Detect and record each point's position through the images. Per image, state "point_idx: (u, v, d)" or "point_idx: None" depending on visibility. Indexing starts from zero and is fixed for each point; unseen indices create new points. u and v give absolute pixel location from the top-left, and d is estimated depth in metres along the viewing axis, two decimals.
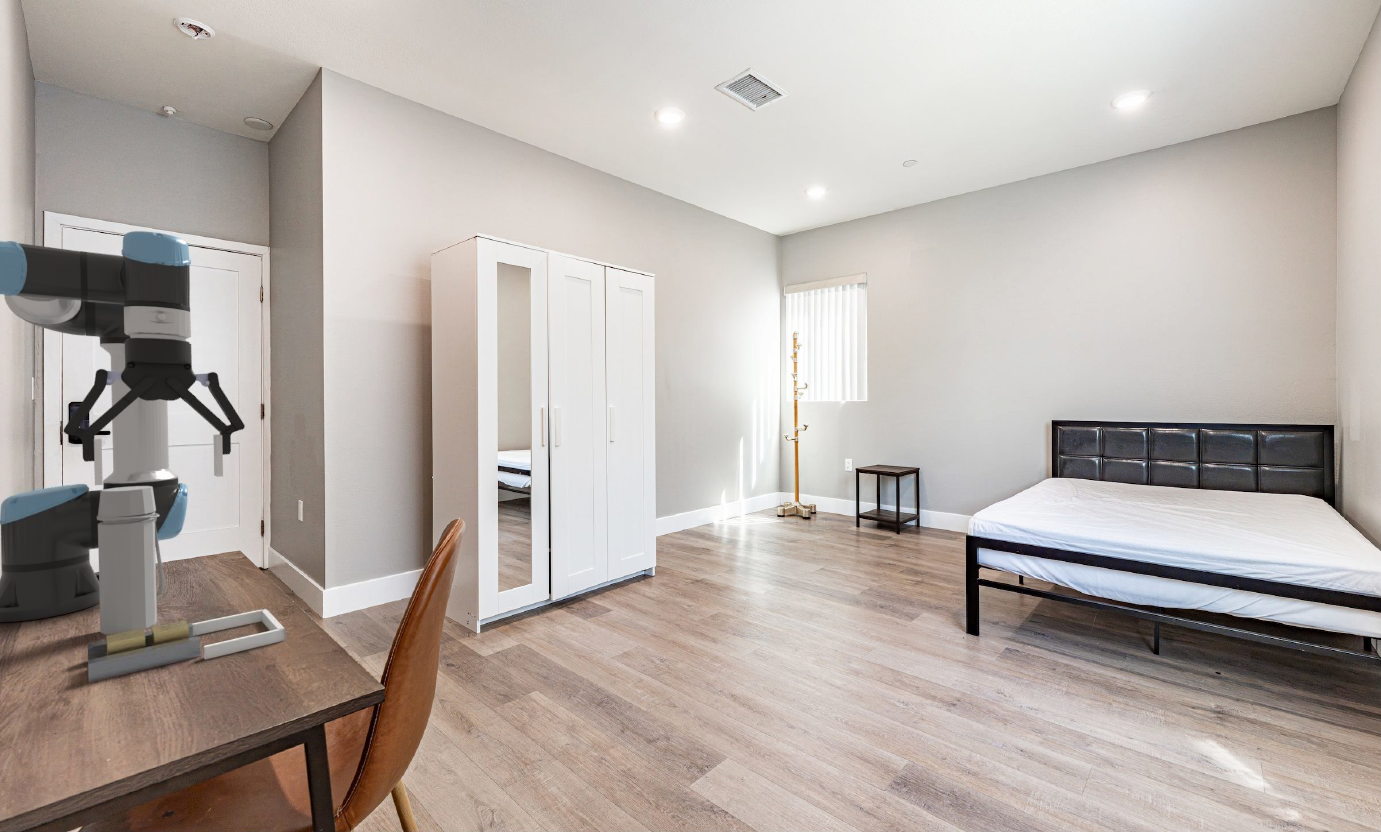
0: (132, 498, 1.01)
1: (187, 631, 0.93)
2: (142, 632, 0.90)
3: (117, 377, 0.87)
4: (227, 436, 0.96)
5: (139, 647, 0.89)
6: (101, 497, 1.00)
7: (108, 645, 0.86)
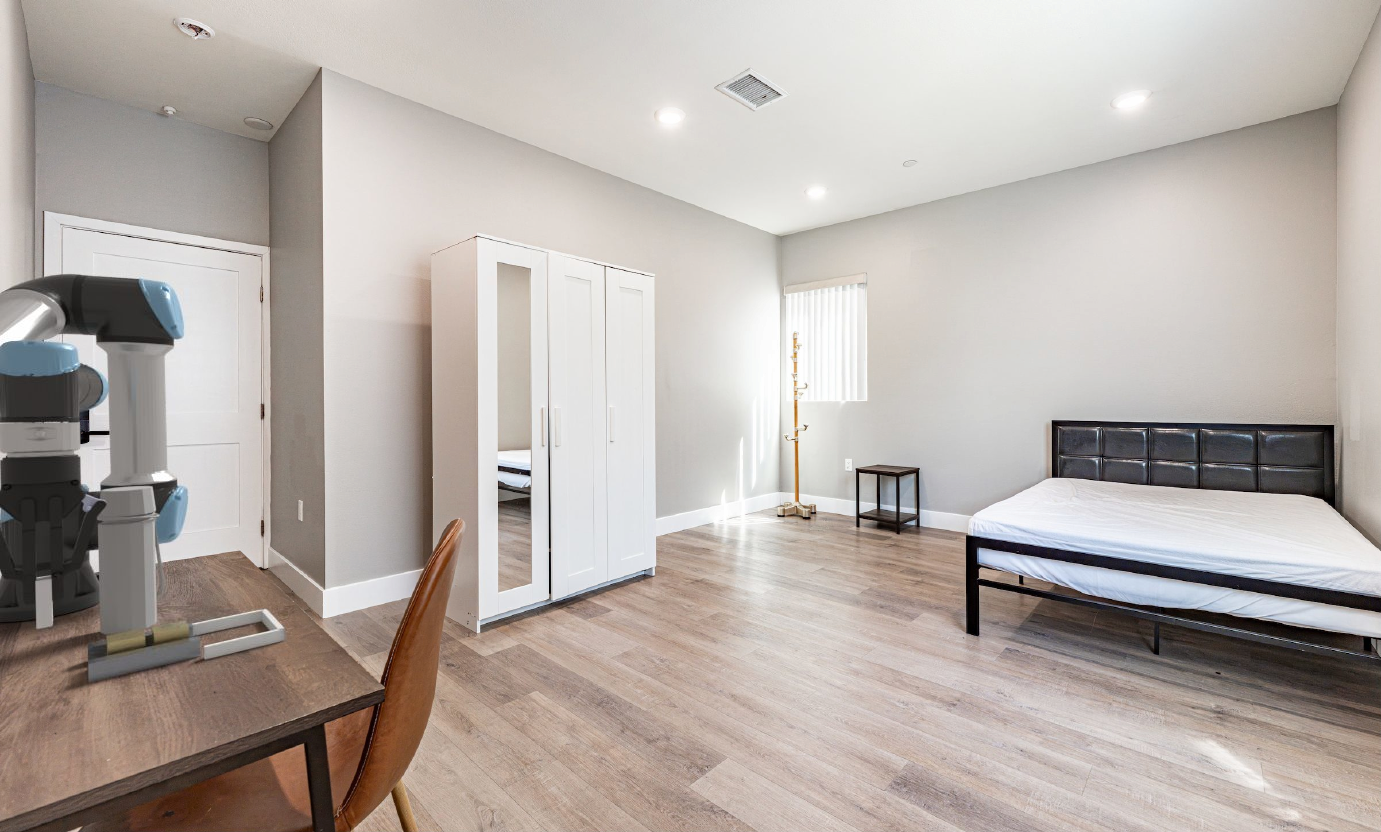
0: (132, 498, 1.01)
1: (187, 631, 0.93)
2: (142, 632, 0.90)
3: None
4: (59, 578, 0.83)
5: (139, 647, 0.89)
6: (101, 497, 1.00)
7: (108, 645, 0.86)
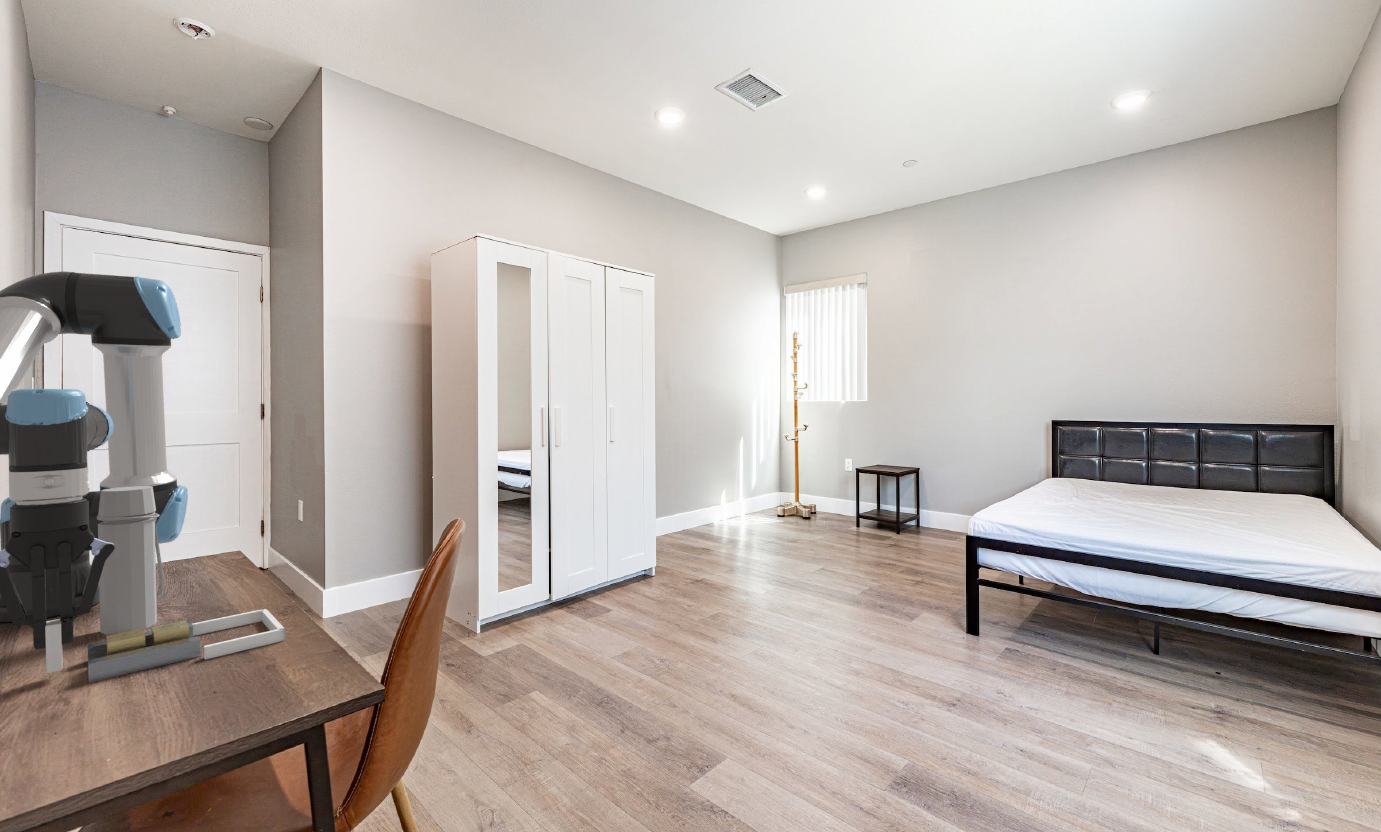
0: (132, 498, 1.01)
1: (187, 631, 0.93)
2: (142, 632, 0.90)
3: (6, 555, 0.80)
4: (68, 622, 0.84)
5: (139, 647, 0.89)
6: (101, 497, 1.00)
7: (108, 645, 0.86)
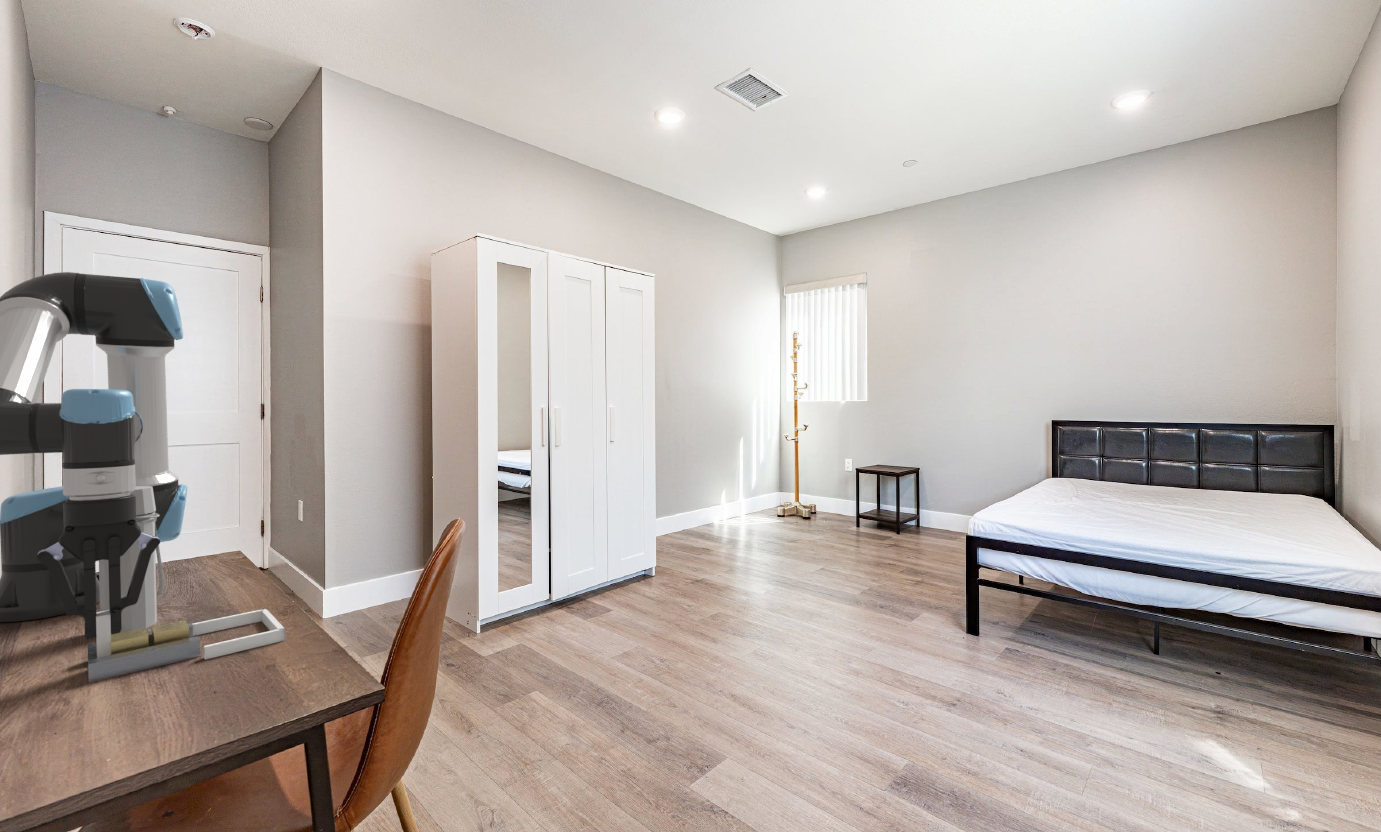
0: None
1: (187, 631, 0.93)
2: (145, 631, 0.90)
3: (60, 548, 0.84)
4: (117, 613, 0.88)
5: (142, 646, 0.89)
6: None
7: (111, 644, 0.87)
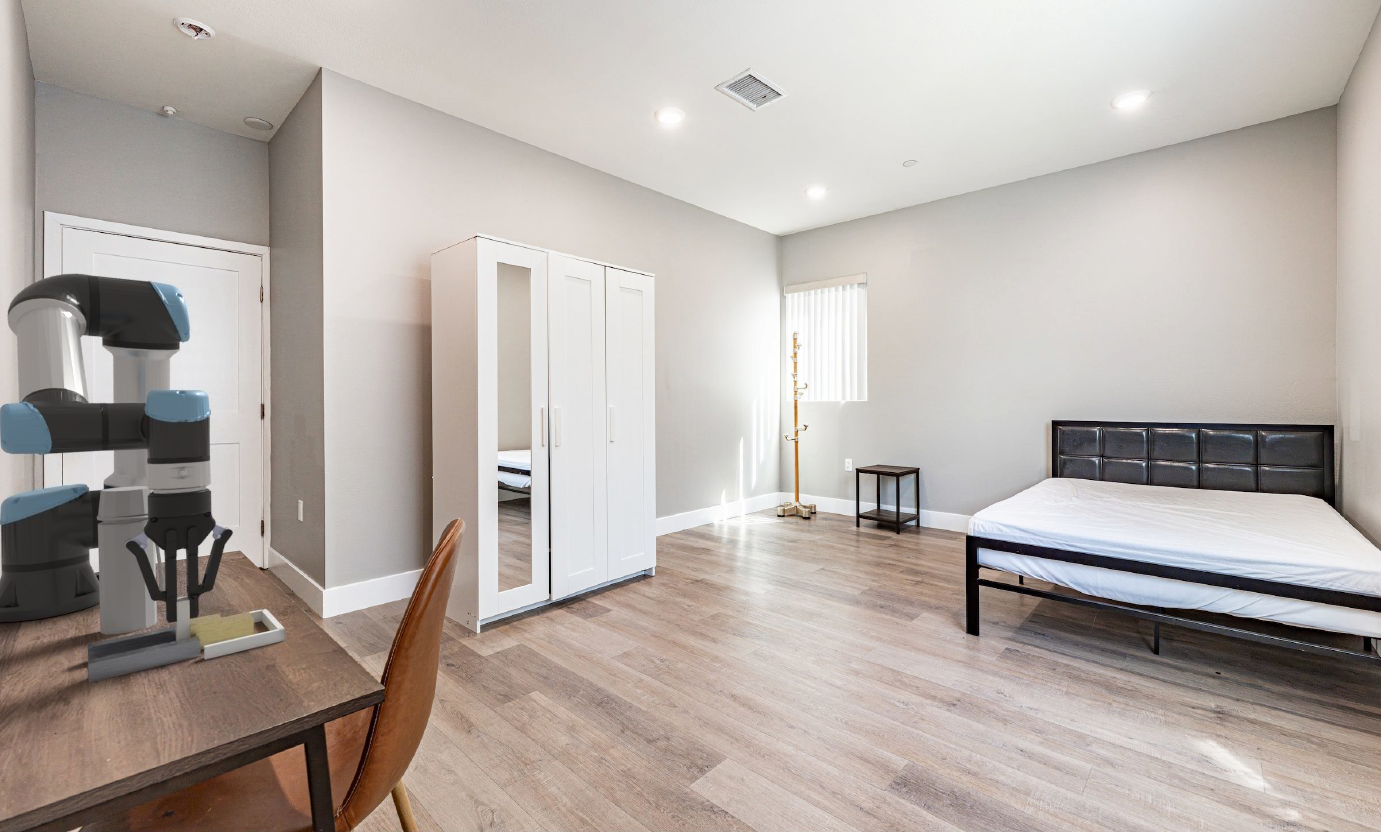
0: (132, 498, 1.01)
1: (252, 622, 0.98)
2: (219, 616, 0.97)
3: (145, 538, 0.90)
4: (195, 599, 0.94)
5: (218, 630, 0.95)
6: (101, 497, 1.00)
7: (191, 628, 0.93)
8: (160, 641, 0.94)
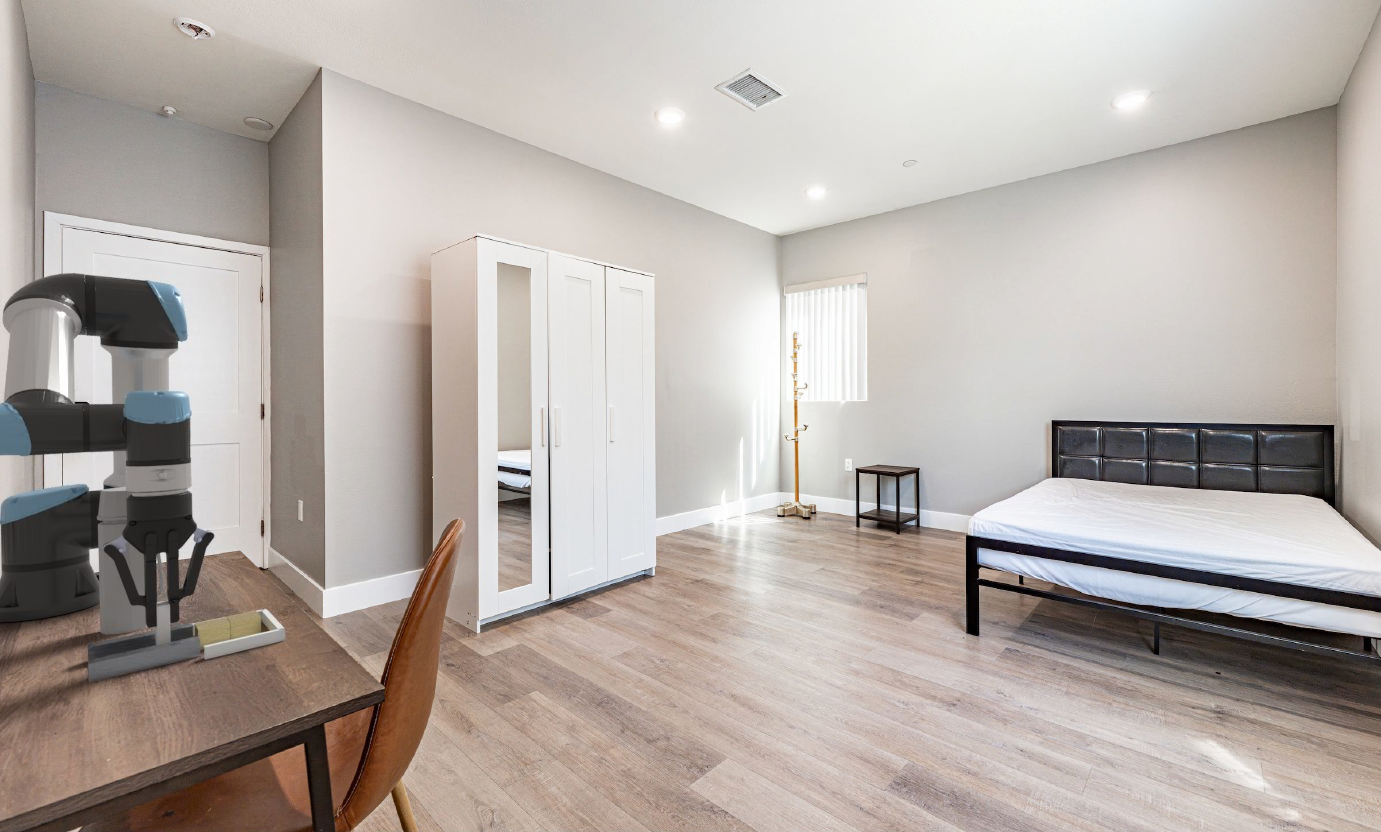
0: None
1: (259, 621, 0.99)
2: (226, 620, 0.97)
3: (124, 542, 0.88)
4: (175, 603, 0.93)
5: (225, 634, 0.96)
6: (101, 497, 1.00)
7: (198, 632, 0.93)
8: None
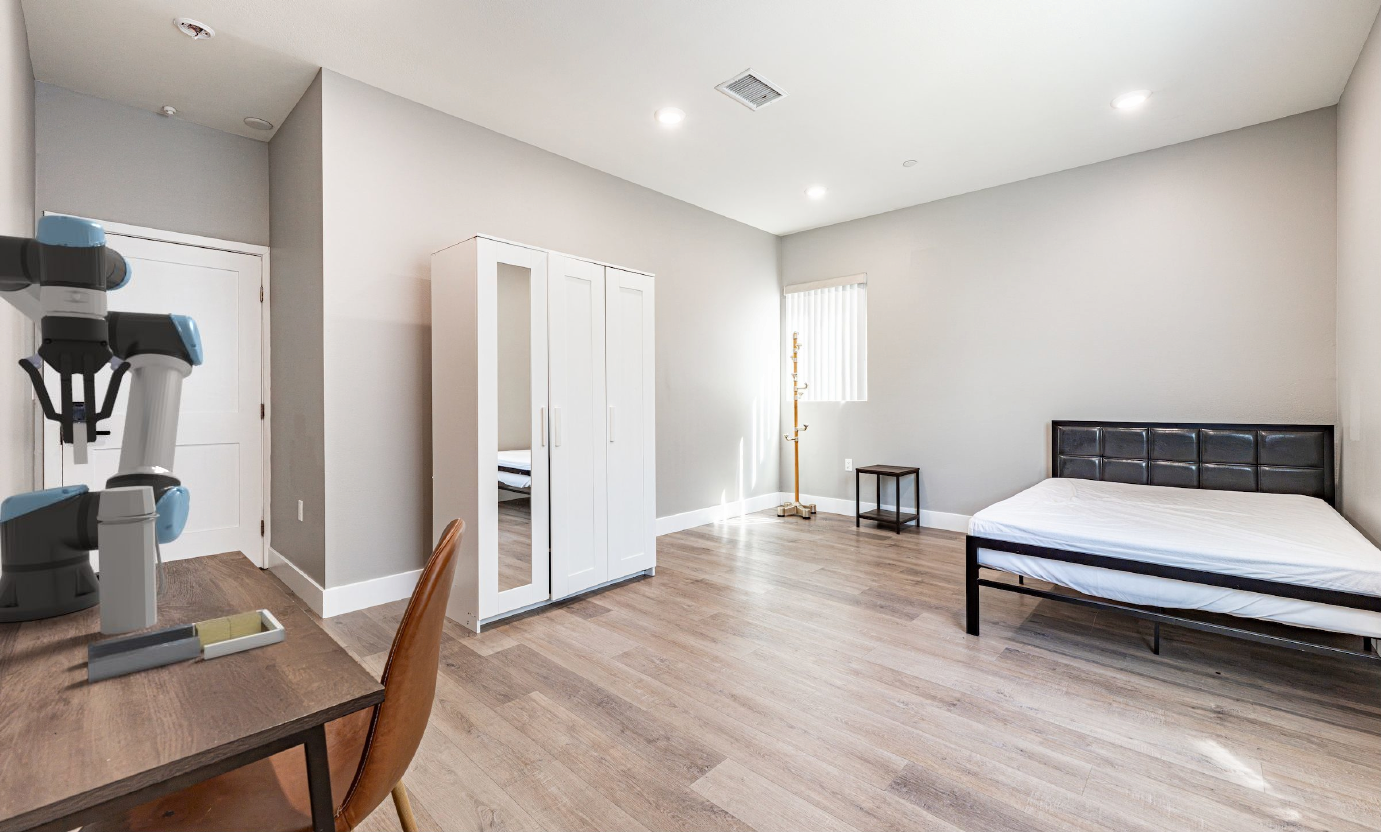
0: (132, 498, 1.01)
1: (259, 621, 0.99)
2: (226, 620, 0.97)
3: (39, 359, 0.93)
4: (92, 424, 0.98)
5: (225, 634, 0.96)
6: (101, 497, 1.00)
7: (198, 632, 0.93)
8: (160, 641, 0.94)
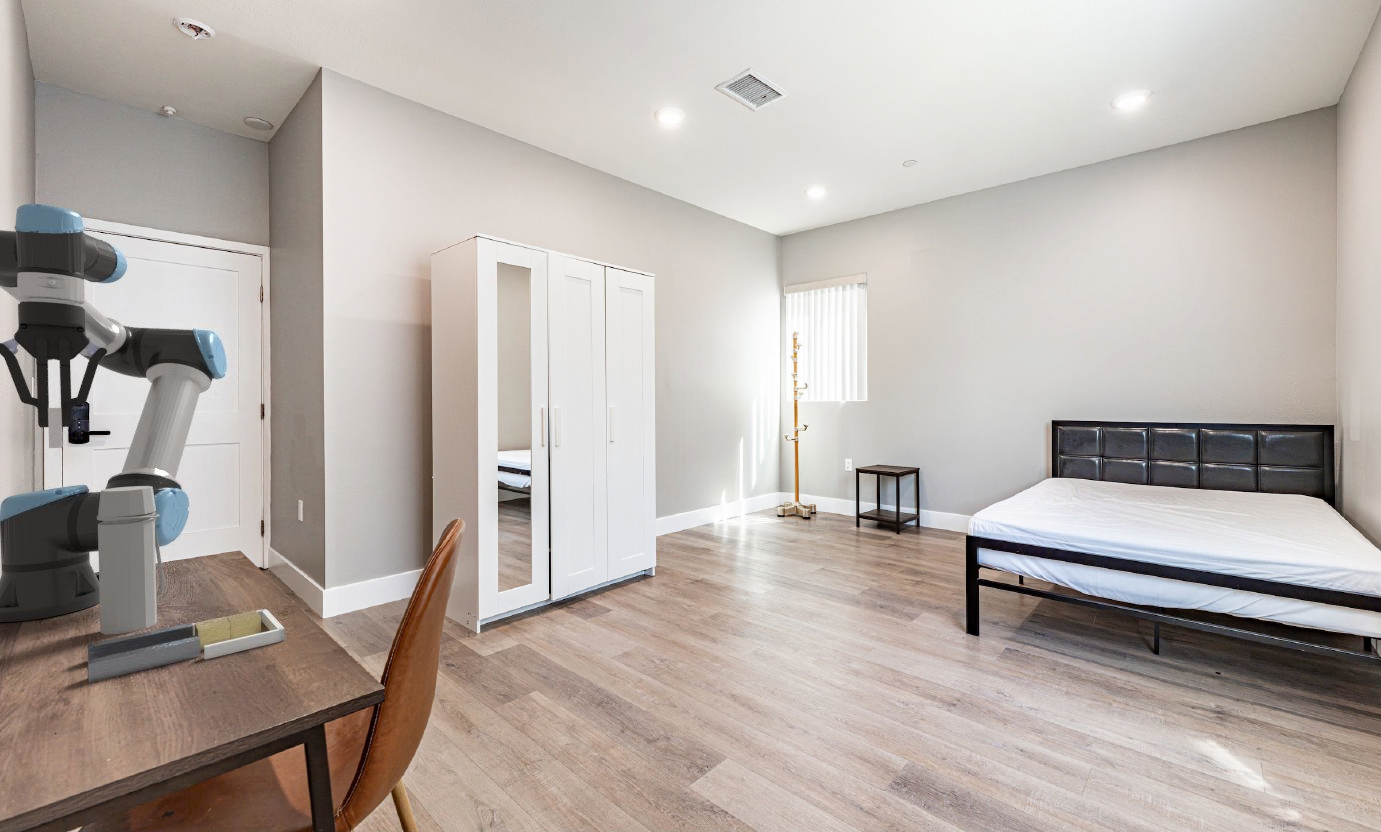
0: (132, 498, 1.01)
1: (259, 621, 0.99)
2: (226, 620, 0.97)
3: (15, 343, 0.95)
4: (68, 409, 0.99)
5: (225, 634, 0.96)
6: (101, 497, 1.00)
7: (198, 632, 0.93)
8: (160, 641, 0.94)
